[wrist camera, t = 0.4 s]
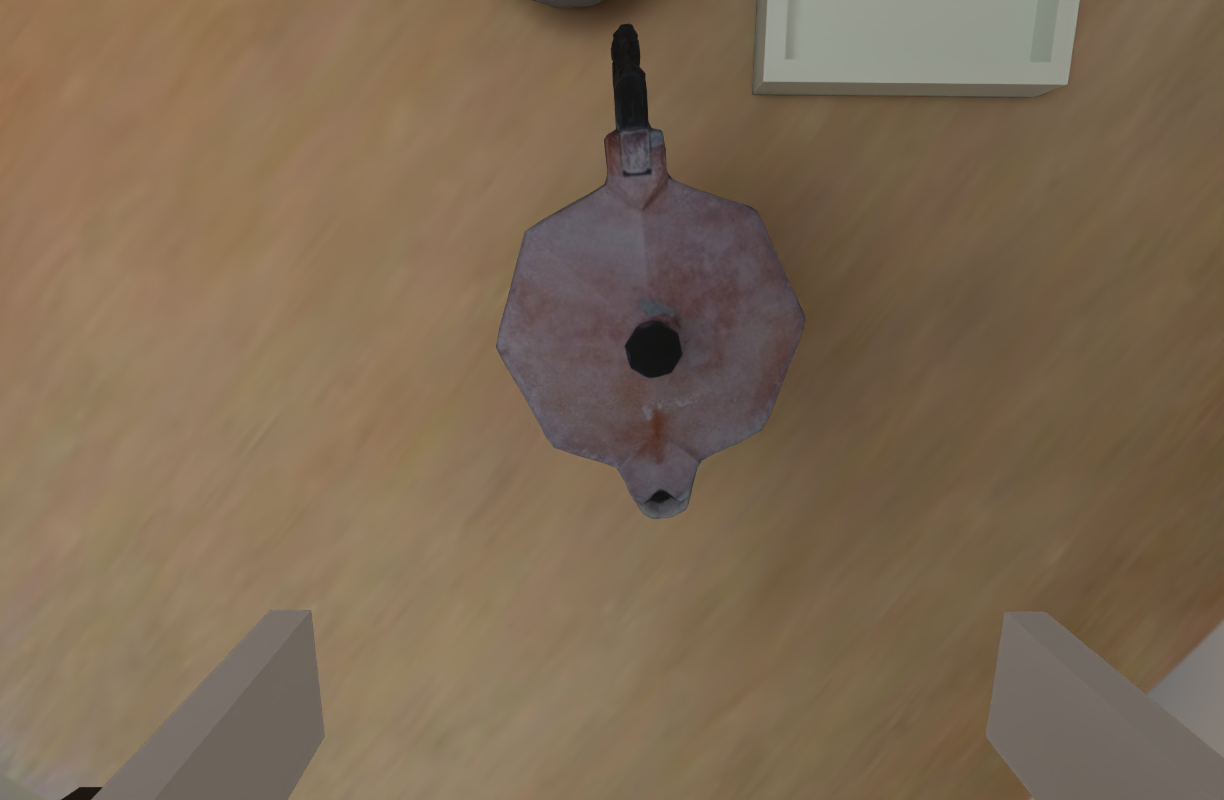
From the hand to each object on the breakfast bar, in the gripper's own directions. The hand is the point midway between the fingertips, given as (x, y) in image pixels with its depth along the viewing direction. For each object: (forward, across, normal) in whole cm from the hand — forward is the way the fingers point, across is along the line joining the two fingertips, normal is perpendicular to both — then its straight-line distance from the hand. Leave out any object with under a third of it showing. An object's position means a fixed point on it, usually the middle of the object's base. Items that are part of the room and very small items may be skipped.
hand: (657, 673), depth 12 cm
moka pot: (+26, 0, +6) cm, 27 cm away
